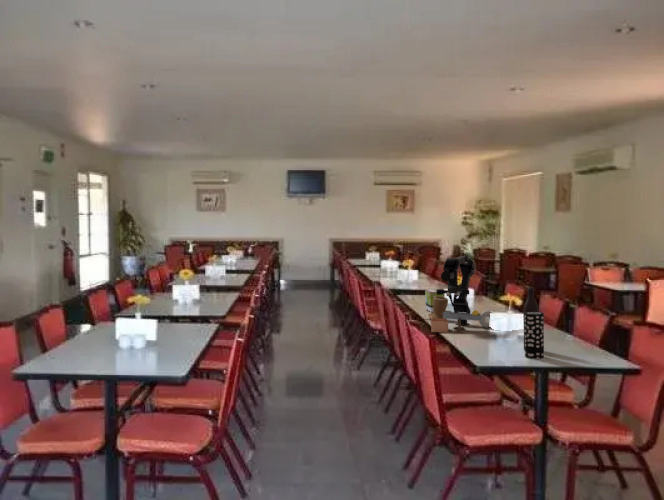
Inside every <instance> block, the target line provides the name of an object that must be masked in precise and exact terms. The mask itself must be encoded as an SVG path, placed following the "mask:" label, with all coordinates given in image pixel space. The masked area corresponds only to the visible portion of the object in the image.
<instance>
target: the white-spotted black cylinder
mask: <svg viewBox="0 0 664 500" xmlns="http://www.w3.org/2000/svg"><path fill="white" fill-rule="evenodd" d="M524 315H525V350H524V357H525V358H527V359H531V360H532V359H534V360H536V359H537V360H539V359H544V357H545V334H544V333H545V325H544V324H545V322H544V320H545V318H544V317H545V314H544V312H541V311H539V312H526V313H524Z"/></svg>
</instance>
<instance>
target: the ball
mask: <svg viewBox="0 0 664 500" xmlns="http://www.w3.org/2000/svg"><path fill="white" fill-rule="evenodd" d="M471 312H472V313H471V314H472V315H473V316H479V313H480V312H479V311H478V310H477V309H475V310H473V311H471Z"/></svg>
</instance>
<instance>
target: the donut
mask: <svg viewBox="0 0 664 500" xmlns="http://www.w3.org/2000/svg"><path fill="white" fill-rule="evenodd" d="M490 313H493V312H492V311H490V310H483V312H481V313H480V314H481V321H480V320H478V323H479V324H480V325H481V327H483V328H484V329H489V328H488V327H489V321H486V318H487V317H488V318H489V319H490Z"/></svg>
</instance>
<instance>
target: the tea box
mask: <svg viewBox="0 0 664 500" xmlns="http://www.w3.org/2000/svg"><path fill="white" fill-rule="evenodd" d="M437 289H438V288H434V289H433V288H431V289H430V288H429V289H425V291H424V293H425V294H424V295H425V296H424V297H425V300H424V301H425V310H426V311H427V310H428V312H429V311H430V312H429V313H431V312H433V298H434V297H435V296H441V297H445V293H443V294H442V295H437Z"/></svg>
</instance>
